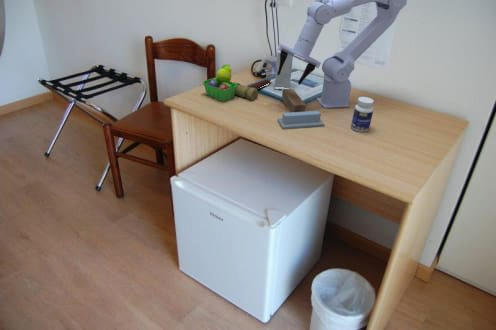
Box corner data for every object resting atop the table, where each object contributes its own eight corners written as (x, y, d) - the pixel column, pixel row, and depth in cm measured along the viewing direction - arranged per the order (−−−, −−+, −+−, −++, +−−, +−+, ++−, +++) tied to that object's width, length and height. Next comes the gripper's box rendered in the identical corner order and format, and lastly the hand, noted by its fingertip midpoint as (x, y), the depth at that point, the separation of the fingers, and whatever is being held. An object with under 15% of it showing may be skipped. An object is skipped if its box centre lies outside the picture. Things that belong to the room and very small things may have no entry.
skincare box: (274, 82, 162) (277, 45, 154) (289, 83, 162) (293, 46, 154) (274, 90, 155) (276, 51, 147) (289, 91, 155) (293, 52, 147)
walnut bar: (292, 100, 148) (293, 88, 145) (304, 117, 136) (305, 104, 134) (281, 101, 147) (282, 89, 145) (292, 117, 135) (294, 105, 133)
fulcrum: (317, 118, 135) (319, 108, 133) (324, 126, 130) (325, 116, 128) (277, 120, 132) (278, 110, 131) (282, 129, 128) (283, 118, 126)
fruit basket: (201, 94, 149) (200, 64, 143) (219, 88, 154) (218, 59, 148) (223, 104, 143) (223, 73, 136) (240, 97, 148) (241, 67, 142)
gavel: (261, 72, 163) (282, 78, 158) (260, 83, 165) (281, 89, 160) (229, 83, 148) (251, 90, 143) (228, 95, 150) (250, 102, 145)
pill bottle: (356, 133, 127) (362, 104, 122) (347, 125, 132) (353, 96, 126) (372, 131, 128) (378, 102, 123) (363, 123, 133) (369, 95, 128)
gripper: (286, 32, 126) (268, 72, 131) (328, 51, 127) (308, 90, 132) (286, 30, 133) (269, 68, 138) (326, 48, 133) (308, 86, 139)
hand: (288, 79), depth 136 cm, fingers open, 7 cm apart
